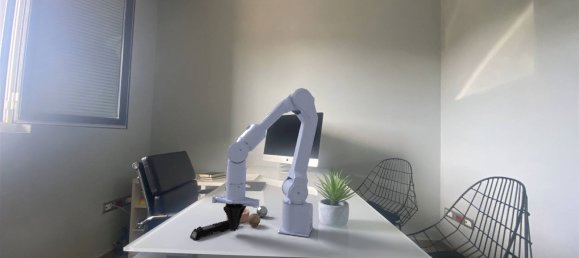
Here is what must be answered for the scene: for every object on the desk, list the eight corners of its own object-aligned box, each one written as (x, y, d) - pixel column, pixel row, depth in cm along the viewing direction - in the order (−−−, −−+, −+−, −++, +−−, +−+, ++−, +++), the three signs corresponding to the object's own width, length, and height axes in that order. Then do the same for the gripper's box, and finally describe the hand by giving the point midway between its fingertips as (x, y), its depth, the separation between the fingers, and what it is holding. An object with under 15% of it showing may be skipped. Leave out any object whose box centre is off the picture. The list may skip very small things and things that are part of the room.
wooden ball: (262, 224, 76) (262, 212, 77) (257, 229, 73) (257, 216, 73) (251, 223, 77) (251, 211, 78) (245, 227, 74) (246, 214, 74)
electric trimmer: (242, 228, 74) (243, 218, 74) (195, 242, 63) (195, 230, 63) (235, 225, 77) (236, 215, 77) (189, 238, 66) (189, 226, 66)
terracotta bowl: (252, 216, 84) (252, 209, 84) (242, 224, 76) (242, 215, 76) (233, 214, 86) (234, 207, 86) (222, 221, 78) (222, 213, 78)
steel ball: (269, 216, 85) (269, 205, 85) (264, 219, 81) (265, 208, 82) (258, 214, 86) (259, 204, 87) (254, 218, 83) (254, 206, 83)
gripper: (206, 183, 67) (204, 231, 66) (252, 187, 63) (251, 238, 62) (220, 179, 74) (218, 223, 73) (262, 183, 70) (261, 229, 69)
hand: (234, 229), depth 68 cm, fingers closed
